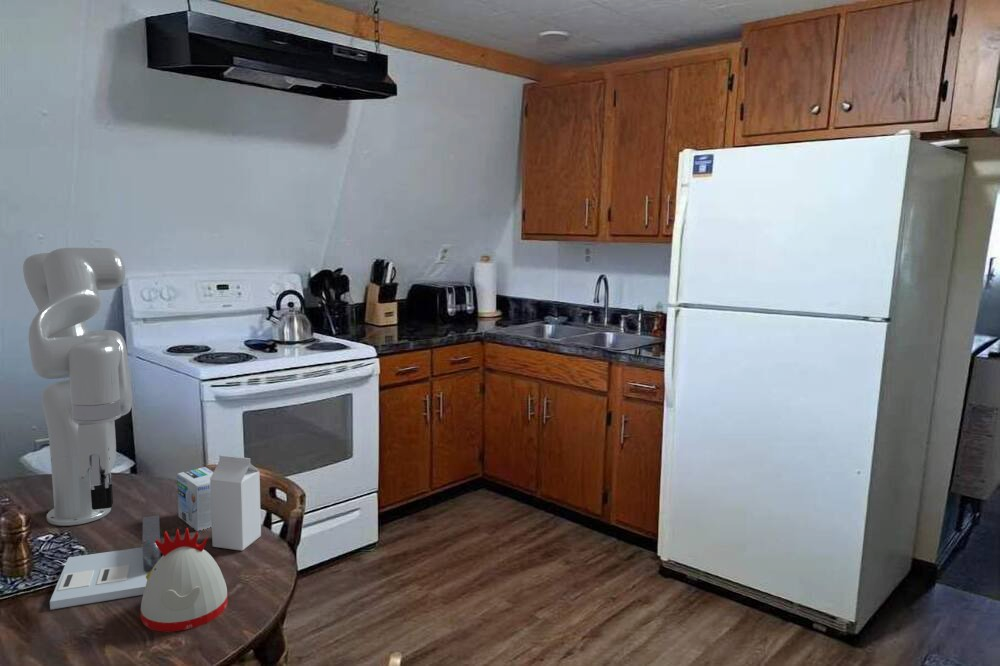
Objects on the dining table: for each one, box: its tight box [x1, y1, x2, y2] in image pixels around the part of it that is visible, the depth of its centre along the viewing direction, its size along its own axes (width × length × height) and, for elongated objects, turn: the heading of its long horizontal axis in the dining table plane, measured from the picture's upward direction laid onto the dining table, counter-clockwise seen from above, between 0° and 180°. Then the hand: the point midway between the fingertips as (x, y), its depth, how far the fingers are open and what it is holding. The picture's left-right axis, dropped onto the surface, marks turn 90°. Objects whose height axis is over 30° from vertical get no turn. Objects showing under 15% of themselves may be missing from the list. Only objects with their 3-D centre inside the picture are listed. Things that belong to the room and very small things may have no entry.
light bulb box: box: [176, 466, 214, 532], centre depth 154 cm, size 11×7×11 cm, turn 47°
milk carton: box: [210, 454, 262, 551], centre depth 143 cm, size 7×7×19 cm
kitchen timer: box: [140, 527, 228, 633], centre depth 118 cm, size 14×14×15 cm
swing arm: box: [141, 514, 162, 572], centre depth 135 cm, size 3×16×5 cm, turn 27°
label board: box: [49, 546, 149, 610], centre depth 128 cm, size 17×15×2 cm
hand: (102, 506), depth 124 cm, fingers closed
